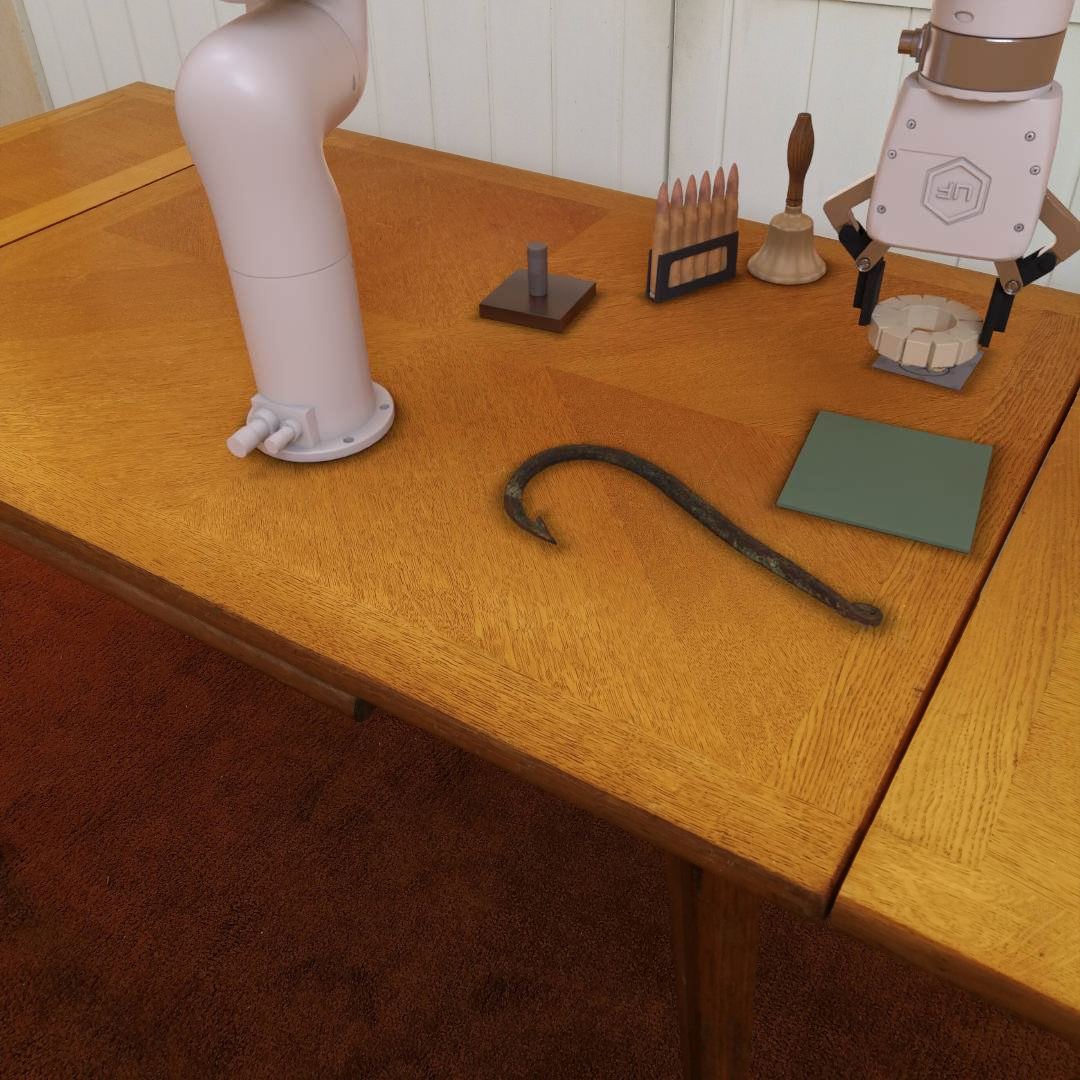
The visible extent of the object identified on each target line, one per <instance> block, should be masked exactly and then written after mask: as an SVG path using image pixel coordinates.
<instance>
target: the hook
mask: <svg viewBox="0 0 1080 1080" xmlns="http://www.w3.org/2000/svg"><path fill="white" fill-rule="evenodd" d="M585 460H586V461H594V462H595V461H596V462H597V461H598V462H605V463H608V464H611V465H614V466H616V467H620V468H623V469H624V470H627V471H629V472H631V473H633V474H636V475H638V476H639V477H641V478H643V479H644V480H646V481H648V483H650V484H652V485H653V486H655V487H656V488H658V489H659V490H660V491H661V492H662V493H663V494H664V495H666V496H667V497H668V498H670V499H671V500H672V501H673V502H675V504H677V505H678V506H679V507H680V508H682V509H683V510H684V511H685V512H686V513H688V514H689V515H690V516H691V517H693V518H694V519H695V520H697V521H698V522H700V523H701V524H702V525H703V526H704V527H706V528H707V529H708V530H710V532H711V533H713V534H714V535H716V536H717V537H718V538H720V539H721V540H723V541H724V542H725V543H727V544H728V545H729V546H730V547H732V548H733V549H734V550H735V551H737V552H739V553H740V554H741V555H744V556H745V557H746V558H748V559H749V560H751V561H753V562H754V563H756V564H758V565H760V566H761V567H763V568H764V569H766V570H768V571H769V572H771V573H773V574H774V575H776V576H778V577H780V578H781V579H783V580H785V581H786V582H788V583H790V584H791V585H794V587H796V588H797V589H799V590H801V591H803V592H804V593H806V594H807V595H809V596H811V597H812V598H815V599H816V600H818V601H819V602H820V603H822V604H823V605H825V606H827V607H828V608H829V609H832V610H833V611H834V612H836V613H837V614H838V615H840V616H841V617H843V618H844V619H846V620H848V621H850V622H852V623H854V624H856V625H858V626H862V627H864V628H865V627H867V628H875V627H877V626H880V625H881V623H882V620H883V617H884V614H883V613H882V611H881V609H880V608H878V607H876V606H874V605H873V604H869V603H864V602H859V601H856V602H850V601H849V600H848V599H847V598H845V597H843V596H842V595H841V594H839V593H838V592H837V591H836V590H834V589H833V588H831V587H830V586H828V585H826V584H825V583H824V582H822V581H820V580H819V579H818V578H816V577H815V576H814V575H812V574H810V573H809V572H808V571H806V570H805V569H803V568H802V567H801V566H800V565H798V564H796V563H795V562H793V561H792V560H791V559H788V558H787V557H786V556H784V555H782V554H781V553H779V552H777V551H776V550H774V549H772V548H771V547H769V546H767V545H766V544H764V543H763V542H761V540H758V539H757V538H755V537H754V536H752V535H751V534H749V533H748V532H746V531H745V530H743V529H742V528H740V527H739V526H737V525H736V524H735V523H734V522H733V521H732V520H730V519H729V518H728V517H727V516H725V515H724V514H722V513H721V512H720V511H719V510H717V509H715V508H714V507H713V506H712V505H711V504H709V503H708V502H707V501H706V500H705V499H703V497H702V496H700V495H698V494H697V493H695V492H694V491H693V490H692V489H690V488H689V487H688V486H687V485H686V484H685V483H684V482H682V480H680V479H679V478H678V477H676V476H674V475H672V474H671V473H669V472H667V471H666V470H665V469H663V468H661V467H659V466H658V465H656V464H654V463H653V462H651V461H649V460H647V459H645V458H643V457H640V456H637V455H635V454H633V453H631V452H628V451H625V450H623V449H618V448H615V447H609V446H606V445H605V446H604V445H597V444H587V443H581V444H578V443H577V444H576V443H575V444H567V445H560V446H555V447H552V448H548V449H546V450H543V451H541V452H538V453H535V454H534V455H533V456H531V457H530V458H528V459H527V460H526V461H524V462H523V463H522V464H521V465H519V467H518V468H517V469H516V470H515V471H514V473H513V475H512V476H511V477H510V479H509V481H508V482H507V485H506V487H505V490H504V493H503V507H504V511H505V513H506V514H507V516H508V517H509V518H510V519H511V521H512V523H514V524H515V525H516V526H517V527H519V528H520V529H522V530H524V531H526V532H527V533H529V534H531V535H533V536H534V537H536V538H538V539H540V540H543V541H544V542H547V543H549V544H552V545H555V546H558V542H557V541H556V539H555V538H554V537H553V535H552V534H551V533H550V531H549V529H548V527H547V525H546V523H545V521H544V520H543V518H542V517H541V516H540V515H538V517H537V518H536V521H535V522H534V521H532V520H531V519H530V518H529V517H528V516H527V514H526V513H525V511H524V507H523V504H522V500H523V499H522V498H523V493H524V490H525V488H526V486H527V485H528V483H530V481H531V479H533V478H534V477H535V476H536V475H537V474H539V473H540V472H542V471H543V470H545V469H547V468H549V467H551V466H555V465H557V464H560V463H564V462H570V461H585Z"/></svg>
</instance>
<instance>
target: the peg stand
mask: <svg viewBox="0 0 1080 1080" xmlns="http://www.w3.org/2000/svg"><path fill="white" fill-rule="evenodd" d="M526 254H527V255H526V259H527V268H523V267H518V268H517V269H515V270H514V271H513V272H512V273H511V274H510V275H509V276H508V277H506V278H505V280H503V281H502V282H501V283H500V284H499V285H498V286H497V287H496V288H494V289H493V290H492V291H491V292H490V293H489V294H488V295H486V296H485V297H484V298H483V299H482V300H481V301H480V302H479V303H478V308H479V309H478V310H479V318H483V319H489V320H494V321H499V322H504V323H508V324H514V325H518V326H523V327H528V328H533V329H538V330H542V331H543V330H544V331H547V332H553V333H559V334H561V333H562V332H563V331H564V330H566V328H567V327H568V326H569V325H570V323H572V321H574V319H575V318H576V317H577V316H578V315H579V314H580V313H581V312H582V311H583V310H584V308H586V306H587V305H588V304H589V303H590V302H591V301H592V300H593V299H594V298H595V297H596V295H597V281H595V280H588V279H584V278H577V277H572V276H567V275H562V274H555V273H549V268H548V267H549V263H548V245H547V243H546V242H543V241H532V242H530V243H528V244H527V245H526Z"/></svg>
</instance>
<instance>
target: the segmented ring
mask: <svg viewBox="0 0 1080 1080" xmlns="http://www.w3.org/2000/svg"><path fill="white" fill-rule="evenodd" d="M984 321H985V319H984V318H982V316H981V315H980V314H979V313H978V312H977V310H975V309H971V307H970V306H968V305H965V304H964V303H961V302H959V301H957V300H954V299H951V300H948V298H947V297H943V296H938V295H937V296H936V295H929V294H924V295H923V297H922V296H921V295H920V294H903V295H898V296H897V298H896V297H894V296H892V297H889V298H887V299H885V300H882V301H880V302H878V304H877V305H876V307H875V309H874V311H873V313H872V317H871V322H870V324H869V325H868V329H867V334H866V336H867V341H868V343H869V344H870V345H871V347H872V349H874V350H875V351H877V352H878V354H879V355H881V354H882V355H884V356H886V357H888V358H890V359H892V360H894V361H898V360H901V359H902V363H904V364H909V365H915V366H920V367H925V366H926V364H927V363H928V364H929V366H930V367H931V368H936V367H950V366H954V363H955V364H957V365H960V364H962V363H964V362H966V361H968V360H970V359H972V358H973V356H975V355H976V353H977V350H979V346H980V344H978V343H979V339H980V336H981V332H982V328H983V325H984ZM919 329H922V330H919ZM925 330H930V331H925Z"/></svg>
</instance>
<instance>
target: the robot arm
mask: <svg viewBox="0 0 1080 1080" xmlns="http://www.w3.org/2000/svg"><path fill="white" fill-rule="evenodd" d="M219 1H221V2H224V3H228V4H237V5H238V4H240V5H244V4H245V13H243V14H242V15H239V16H237V17H236V18H234V19H233V20H231V21H229V22H227V23H225V24H224V25H222V26H220V27H218V28H215V30H213V31H211V32H210V33H208V35H205V37H203V38H202V39H201V40H200V41H198V42H197V44H196V45H195V46H194V47H193V48H192V49H191V50H190V51H189V53H188V54H187V55H186V56H185V59H184V61H183V62H182V64H181V66H180V68H179V72H178V74H177V78H176V81H175V82H176V83H175V86H174V110H175V116H176V121H177V125H178V128H179V131H180V134H181V137H182V139H183V143H184V145H185V146H186V147H185V148H186V150H187V151H188V154H189V156H190V158H191V160H192V163H193V165H194V167H195V169H196V171H197V173H198V176H199V178H200V182H201V183H202V185H203V189H204V191H205V194H206V197H207V199H208V203H209V206H210V210H211V212H212V215H213V216H212V217H213V219H214V223H215V227H216V231H217V234H218V238H219V241H220V245H221V249H222V254H223V257H224V262H225V265H226V267H227V271H228V276H229V280H230V284H231V287H232V291H233V292H232V293H233V296H234V300H235V305H236V308H237V313H238V316H239V321H240V324H241V329H242V334H243V337H244V341H245V345H246V349H247V353H248V358H249V361H250V366H251V370H252V374H253V378H254V382H255V386H256V391H257V393H256V394H255V395H253V396H252V397H251V398H250V403H251V407H250V410H249V411H248V413H247V416H246V422H245V423H246V425H243V426H242V427H240V428H239V429H237V431H235V432H234V433H233V434H231V435H230V436H229V437H228V438H227V439H226V447H227V449H228V450H229V452H230V453H231V454H232V455H234V456H235V457H237V458H240V459H243V458H246V456H248V454H250V453H251V452H252V451H254V450H255V449H258V450H259V451H261V452H262V453H263V454H265V455H268V456H270V457H273V458H275V459H278V460H283V461H287V462H294V463H295V462H296V463H319V462H320V463H321V462H328V461H333V460H339V459H342V458H345V457H349V456H352V455H355V454H357V453H359V452H362V451H363V450H366V449H368V448H370V447H371V446H372V445H374V444H375V443H376V442H378V441H380V440H381V439H382V438H383V437H384V436H385V435H387V433H388V432H389V430H390V429H391V427H392V426H393V424H394V420H395V416H396V415H395V412H396V411H395V403H394V399H393V397H392V395H391V394H390V392H389V390H387V388H385V387H384V386H383V385H381V384H379V383H377V382H376V381H374V380H373V378H372V372H371V365H370V359H369V353H368V347H367V341H366V335H365V327H364V321H363V315H362V308H361V302H360V296H359V290H358V284H357V277H356V270H355V263H354V257H353V252H352V245H351V242H350V234H349V229H348V228H349V227H348V224H347V218H346V214H345V209H344V205H343V201H342V199H341V194H340V193H339V190H338V188H337V186H336V183H335V180H334V178H333V176H332V174H331V171H330V168H329V167H328V164H327V160H326V157H325V153H324V146H323V144H324V141H325V140H326V139H327V138H328V137H329V136H330V134H331V133H332V132H334V130H336V129H337V127H339V126H340V125H341V124H342V123H343V122H344V121H345V120H347V118H348V117H349V116H350V115H351V114H352V113H353V112H354V110H355V109H356V108H357V107H358V105H359V103H360V101H361V99H362V97H363V95H364V92H365V89H366V85H367V81H368V75H369V59H370V58H369V54H370V53H369V52H370V51H369V24H368V22H369V21H368V20H369V19H368V0H219ZM1075 3H1076V0H932V3H931V8H930V13H929V21H928V22H927V23H924V24H923V25H922V27H921V28H920V27H916V28H914V29H902V30H901V32H900V36H899V40H898V46H897V54H898V55H909V58H915V61H914V62H915V63H916V64H918V66H917V70H915V71H913V72H911V73H909V74H908V75H907V76H906V77H905V78H903V81H902V85H901V86H900V89H899V91H898V94H897V96H896V99H895V102H894V105H893V107H892V112H891V113H890V117H889V120H888V124H887V127H886V131H885V134H884V138H883V142H882V146H881V150H880V154H879V158H878V162H877V166H876V169H875V170H873V171H872V172H870V173H868V174H867V175H865V176H863V177H861V178H859V179H858V180H855V181H854V182H852V183H851V184H849V185H847V186H845V187H843V188H841V189H840V190H838V191H836V192H834V193H833V194H830V195H829V197H828V198H827V199H826V201H825V202H824V204H823V206H822V210H823V212H824V214H825V216H826V218H827V220H828V221H829V223H830V225H831V226H832V228H833V230H834V231H835V233H837V237H838V240H839V242H840V243H841V245H842V246H843V247H844V249H845V250H846V252H847V253H848V254H849V255H850V257H851V259H853V260H854V266H855V268H856V270H857V271H858V274H857V281H856V285H855V291H854V297H853V302H852V308H854V309H859V310H860V311H859V316H858V323H857V326H860V327H867V326H869V324H870V322H871V317H872V313H873V311H874V309H875V307H876V305H878V304H879V299H880V294H881V289H882V284H883V279H884V273H885V269H886V263H887V261H886V260H885V256H884V255H885V254H886V253H887V252H888V251H889V250H890V248H896V249H901V250H908V251H914V252H920V253H921V252H922V253H927V254H934V255H942V256H949V257H956V258H963V259H969V260H978V261H985V262H993V264H994V267H995V270H996V273H997V276H998V277H996V279H995V282H994V285H993V289H992V293H991V296H990V299H989V303H988V307H987V310H986V314H985V318H984V321H983V323H984V325H983V328H982V332H981V336H980V339H979V343H978V344H979V346H980V347H981V348H987V349H989V348H990V345H991V341H992V337H993V334H994V332H995V333H1005V332H1006V328H1007V325H1008V322H1009V318H1010V315H1011V313H1012V312H1011V311H1012V307H1013V304H1014V301H1015V298H1016V295H1018V294H1019V293H1021V292H1022V290H1023V288H1025V287H1027V286H1029V285H1031V284H1032V283H1034V282H1036V281H1038V280H1040V279H1041V278H1042V277H1045V276H1046V275H1048V274H1050V273H1051V272H1053V271H1054V270H1055V268H1056V267H1057V266H1059V265H1060V264H1061V263H1064V262H1065V261H1067V260H1068V259H1069V258H1070V257H1072V256H1073V255H1074V254H1077V252H1079V251H1080V220H1079V219H1078V218H1077V217H1076V216H1075V215H1074V214H1073V213H1072V212H1071V210H1070V209H1068V208H1067V206H1065V204H1063V203H1062V201H1061V200H1060V199H1059V198H1058V197H1057V196H1056V195H1055V194H1054V193H1053V192H1052V191H1051V190H1050V189H1049V188H1048V184H1049V180H1050V176H1051V171H1052V168H1053V164H1054V163H1053V162H1054V159H1055V155H1056V150H1057V144H1058V140H1059V133H1060V127H1061V119H1062V112H1063V99H1064V91H1063V86H1062V84H1061V83H1060V82H1059V81H1057V80H1056V79H1055V78H1054V77H1055V73H1056V71H1057V67H1058V63H1059V60H1060V55H1061V52H1062V49H1063V45H1064V42H1065V38H1066V34H1067V31H1068V27H1069V23H1070V20H1071V18H1072V17H1071V16H1072V13H1073V10H1074V6H1075ZM915 63H914V64H915ZM867 200H869V203H868V207H867V213H866V221H865V228H864V226H863V225H862V223H860V221H859V220H857V219H856V218H855V214H854V212H853V210H852V209H853V208H855V207H857V206H859V205H860V204H862V203H864V202H866V201H867ZM1039 221H1041V223H1043V225H1044V226H1045V227H1046V228H1047V229H1048V231H1050V232H1051V233H1052V235H1054V236H1055V238H1054V239H1053V240H1051V241H1050V242H1049V244H1047V245H1044V246H1042V247H1040V248H1039V249H1036V251H1034V252H1032V253H1030V254H1028V255H1027V256H1025V257H1024V255H1025V254H1026V252H1027V251H1028V249H1029V247H1030V245H1031V242H1032V240H1033V238H1034V235H1035V232H1036V229H1037V226H1038V223H1039Z"/></svg>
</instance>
